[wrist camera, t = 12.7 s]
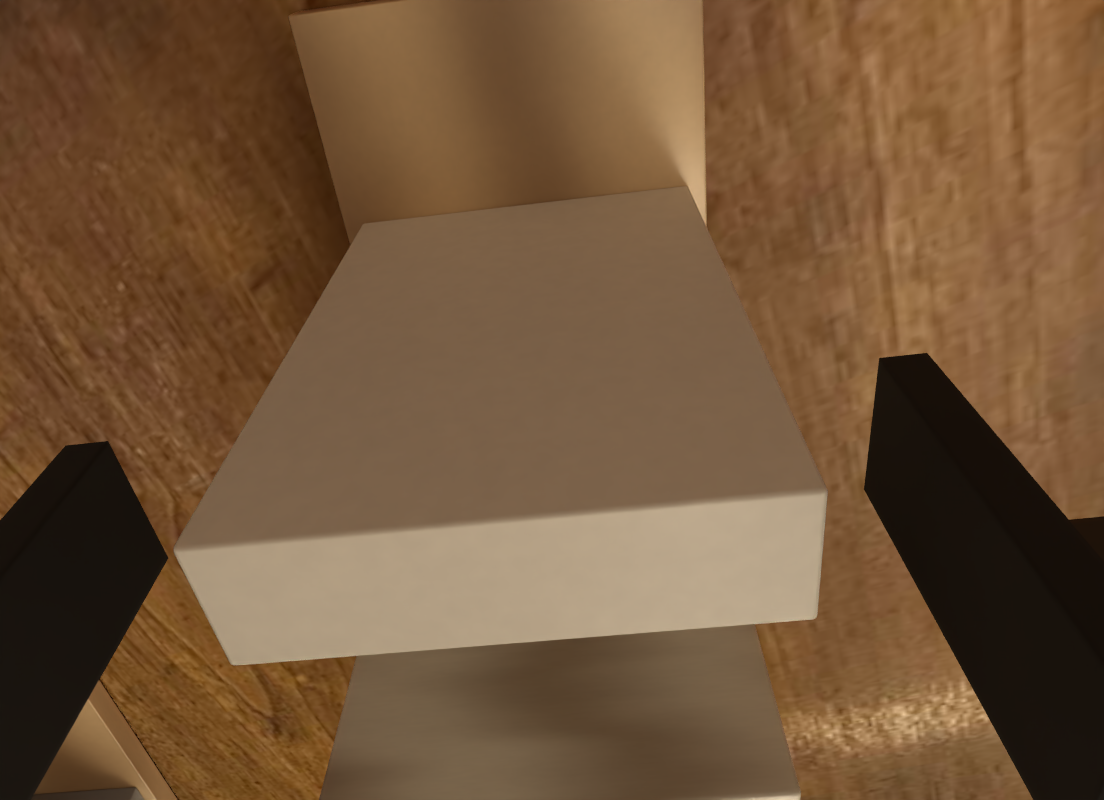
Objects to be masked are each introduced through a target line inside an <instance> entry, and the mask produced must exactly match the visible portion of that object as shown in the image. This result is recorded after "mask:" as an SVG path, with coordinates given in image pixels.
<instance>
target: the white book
mask: <svg viewBox="0 0 1104 800" xmlns="http://www.w3.org/2000/svg"><path fill="white" fill-rule="evenodd" d="M827 494H828V490H827V488H826V486H825V484H824V481H823V479H822V477H821V475H820V473H819V471H818V468H817V466H816V464H815V462H814V460H813V458H812V455H811V453H810V451H809V449H808V447H807V444H806V442H805V440H804V438H803V436H802V434H801V431H800V429H799V427H798V425H797V423H796V421H795V418H794V416H793V414H792V412H791V410H790V408H789V405H788V403H787V401H786V399H785V397H784V394H783V392H782V390H781V388H780V386H779V384H778V381H777V379H776V377H775V375H774V373H773V371H772V368H771V366H770V364H769V362H768V360H767V357H766V355H765V353H764V351H763V349H762V347H761V344H760V342H759V340H758V338H757V336H756V334H755V331H754V329H753V327H752V325H751V323H750V321H749V318H748V316H747V314H746V312H745V310H744V307H743V305H742V303H741V301H740V299H739V297H738V294H737V292H736V290H735V288H734V286H733V284H732V281H731V279H730V277H729V275H728V273H727V270H726V268H725V266H724V264H723V262H722V260H721V257H720V255H719V253H718V251H717V249H716V247H715V244H714V242H713V240H712V238H711V236H710V234H709V231H708V229H707V227H706V225H705V223H704V220H703V218H702V216H701V214H700V212H699V210H698V207H697V205H696V203H695V201H694V199H693V197H692V194H691V192H690V190H689V188H688V186H681V187H672V188H663V189H655V190H646V191H638V192H629V193H621V194H612V195H604V196H595V197H586V198H578V199H569V200H561V201H552V202H544V203H535V204H527V205H518V206H510V207H501V208H492V209H484V210H475V211H467V212H458V213H450V214H441V215H433V216H424V217H415V218H407V219H398V220H390V221H381V222H373V223H364V224H363V225H362V226H361V228H360V230H359V232H358V233H357V235H356V237H355V238H354V240H353V242H352V244H351V245H350V247H349V249H348V250H347V252H346V254H345V256H344V257H343V259H342V261H341V262H340V264H339V266H338V267H337V269H336V271H335V273H334V274H333V276H332V278H331V279H330V281H329V283H328V285H327V286H326V288H325V290H324V291H323V293H322V295H321V296H320V298H319V300H318V302H317V303H316V305H315V307H314V308H313V310H312V312H311V314H310V315H309V317H308V319H307V320H306V322H305V324H304V325H303V327H302V329H301V331H300V332H299V334H298V336H297V337H296V339H295V341H294V343H293V344H292V346H291V348H290V349H289V351H288V353H287V354H286V356H285V358H284V360H283V361H282V363H281V365H280V366H279V368H278V370H277V372H276V373H275V375H274V377H273V378H272V380H271V382H270V383H269V385H268V387H267V389H266V390H265V392H264V394H263V395H262V397H261V399H260V401H259V402H258V404H257V406H256V407H255V409H254V411H253V412H252V414H251V416H250V418H249V419H248V421H247V423H246V424H245V426H244V428H243V430H242V431H241V433H240V435H239V436H238V438H237V440H236V441H235V443H234V445H233V447H232V448H231V450H230V452H229V453H228V455H227V457H226V459H225V460H224V462H223V464H222V465H221V467H220V469H219V471H218V472H217V474H216V476H215V477H214V479H213V481H212V482H211V484H210V486H209V488H208V489H207V491H206V493H205V494H204V496H203V498H202V500H201V501H200V503H199V505H198V506H197V508H196V510H195V511H194V513H193V515H192V517H191V518H190V520H189V522H188V523H187V525H186V527H185V529H184V530H183V532H182V534H181V535H180V537H179V539H178V540H177V542H176V544H175V546H174V554H175V556H176V558H177V560H178V562H179V564H180V566H181V568H182V570H183V572H184V574H185V576H186V578H187V579H188V581H189V583H190V585H191V587H192V589H193V591H194V593H195V595H196V597H197V599H198V601H199V603H200V605H201V607H202V609H203V611H204V613H205V615H206V617H207V619H208V621H209V623H210V625H211V627H212V628H213V630H214V632H215V634H216V636H217V638H218V640H219V642H220V644H221V646H222V648H223V650H224V652H225V654H226V656H227V658H228V660H229V662H230V663H231V664H232V665H247V664H260V663H272V662H285V661H297V660H310V659H322V658H335V657H347V656H360V655H373V654H385V653H398V652H410V651H423V650H435V649H448V648H460V647H473V646H486V645H498V644H511V643H523V642H536V641H548V640H561V639H573V638H586V637H598V636H611V635H624V634H636V633H649V632H661V631H674V630H686V629H699V628H711V627H724V626H737V625H749V624H762V623H774V622H787V621H799V620H812V619H815V618H816V617H817V611H818V600H819V588H820V576H821V565H822V553H823V541H824V529H825V518H826V506H827Z"/></svg>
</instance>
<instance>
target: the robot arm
mask: <svg viewBox="0 0 1104 800" xmlns="http://www.w3.org/2000/svg"><path fill="white" fill-rule="evenodd" d="M864 490H865V492H866V494H867V495H868V497H869V499H870V501H871V503H872V505H873V506H874V508H875V510H876V512H877V514H878V516H879V517H880V519H881V521H882V523H883V525H884V527H885V528H886V530H887V532H888V534H889V536H890V538H891V539H892V541H893V543H894V545H895V547H896V549H897V550H898V552H899V554H900V556H901V558H902V560H903V561H904V563H905V565H906V567H907V569H908V571H909V572H910V574H911V576H912V578H913V580H914V582H915V583H916V585H917V587H918V589H919V591H920V593H921V594H922V596H923V598H924V600H925V602H926V604H927V605H928V607H929V609H930V611H931V613H932V615H933V616H934V618H935V620H936V622H937V624H938V626H939V627H940V629H941V631H942V633H943V635H944V637H945V638H946V640H947V642H948V644H949V646H950V648H951V649H952V651H953V653H954V655H955V657H956V659H957V660H958V662H959V664H960V666H961V668H962V670H963V671H964V673H965V675H966V677H967V679H968V681H969V682H970V684H971V686H972V688H973V690H974V692H975V693H976V695H977V697H978V699H979V701H980V703H981V704H982V706H983V708H984V710H985V712H986V714H987V715H988V717H989V719H990V721H991V723H992V725H993V726H994V728H995V730H996V732H997V734H998V736H999V737H1000V739H1001V741H1002V743H1003V745H1004V747H1005V748H1006V750H1007V752H1008V754H1009V756H1010V758H1011V759H1012V761H1013V763H1014V765H1015V767H1016V769H1017V770H1018V772H1019V774H1020V776H1021V778H1022V780H1023V781H1024V783H1025V785H1026V787H1027V789H1028V791H1029V792H1030V794H1031V796H1032V798H1033V800H1104V517H1094V518H1083V519H1073V520H1068V518H1067V517H1066V516H1065V515H1064V514H1063V513H1062V511H1061V510H1060V509H1059V508H1058V507H1057V506H1056V504H1055V503H1054V502H1053V501H1052V500H1051V498H1050V497H1049V496H1048V495H1047V494H1046V493H1045V491H1044V490H1043V489H1042V488H1041V487H1040V485H1039V484H1038V483H1037V482H1036V481H1035V480H1034V478H1033V477H1032V476H1031V475H1030V474H1029V473H1028V471H1027V470H1026V469H1025V468H1024V467H1023V465H1022V464H1021V463H1020V462H1019V461H1018V460H1017V458H1016V457H1015V456H1014V455H1013V454H1012V453H1011V451H1010V450H1009V449H1008V448H1007V447H1006V445H1005V444H1004V443H1003V442H1002V441H1001V440H1000V438H999V437H998V436H997V435H996V434H995V432H994V431H993V430H992V429H991V428H990V427H989V425H988V424H987V423H986V422H985V421H984V420H983V418H982V417H981V416H980V415H979V414H978V412H977V411H976V410H975V409H974V408H973V407H972V405H971V404H970V403H969V402H968V401H967V399H966V398H965V397H964V396H963V395H962V394H961V392H960V391H959V390H958V389H957V388H956V387H955V385H954V384H953V383H952V382H951V381H950V379H949V378H948V377H947V376H946V375H945V374H944V372H943V371H942V370H941V369H940V368H939V367H938V365H937V364H936V363H935V362H934V361H933V359H932V358H931V357H930V356H929V355H928V354H927V353H923V354H913V355H904V356H895V357H886V358H879V366H878V374H877V383H876V391H875V400H874V409H873V417H872V426H871V434H870V443H869V452H868V460H867V469H866V477H865V486H864ZM167 559H168V556H167V555H166V553H165V551H164V549H163V547H162V545H161V543H160V541H159V539H158V537H157V535H156V533H155V531H154V529H153V527H152V525H151V524H150V522H149V520H148V518H147V516H146V514H145V512H144V510H143V508H142V506H141V504H140V502H139V500H138V498H137V496H136V494H135V493H134V491H133V489H132V487H131V485H130V483H129V481H128V479H127V477H126V475H125V473H124V471H123V469H122V467H121V465H120V463H119V462H118V460H117V458H116V456H115V454H114V452H113V450H112V448H111V446H110V444H109V442H108V441H106V442H96V443H87V444H78V445H68V446H65V447H64V448H63V449H62V450H61V452H60V453H59V454H58V455H57V456H56V457H55V458H54V460H53V461H52V462H51V463H50V464H49V465H48V466H47V468H46V469H45V470H44V471H43V472H42V473H41V474H40V476H39V477H38V478H37V479H36V480H35V481H34V482H33V484H32V485H31V486H30V487H29V488H28V489H27V491H26V492H25V493H24V494H23V495H22V496H21V497H20V499H19V500H18V501H17V502H16V503H15V504H14V505H13V507H12V508H11V509H10V510H9V511H8V512H7V513H6V515H5V516H4V517H3V518H2V519H1V520H0V800H31V799H32V797H33V795H34V793H35V791H36V790H37V788H38V786H39V784H40V783H41V781H42V779H43V777H44V776H45V774H46V772H47V770H48V769H49V767H50V765H51V763H52V762H53V760H54V758H55V756H56V755H57V753H58V751H59V749H60V748H61V746H62V744H63V742H64V741H65V739H66V737H67V735H68V733H69V732H70V730H71V728H72V726H73V725H74V723H75V721H76V719H77V718H78V716H79V714H80V712H81V711H82V709H83V707H84V705H85V704H86V702H87V700H88V698H89V697H90V695H91V693H92V691H93V690H94V688H95V686H96V684H97V682H98V681H99V679H100V677H101V675H102V674H103V672H104V670H105V668H106V667H107V665H108V663H109V661H110V660H111V658H112V656H113V654H114V653H115V651H116V649H117V647H118V646H119V644H120V642H121V640H122V639H123V637H124V635H125V633H126V631H127V630H128V628H129V626H130V624H131V623H132V621H133V619H134V617H135V616H136V614H137V612H138V610H139V609H140V607H141V605H142V603H143V602H144V600H145V598H146V596H147V595H148V593H149V591H150V589H151V588H152V586H153V584H154V582H155V581H156V579H157V577H158V575H159V573H160V572H161V570H162V568H163V566H164V565H165V563H166V561H167Z"/></svg>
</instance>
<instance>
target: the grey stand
mask: <svg viewBox="0 0 1104 800" xmlns="http://www.w3.org/2000/svg"><path fill="white" fill-rule="evenodd" d="M31 800H178V799H177V798H176V796H175V795H174V793H173V792H172V790H171V789H170V787H169V786H168V784H167V783H166V781H165V780H164V778H163V777H162V775H161V774H160V772H159V770H158V769H157V767H156V766H155V764H154V763H153V761H152V760H151V758H150V757H149V755H148V754H147V752H146V751H145V749H144V748H143V746H142V745H141V743H140V741H139V740H138V738H137V737H136V735H135V734H134V732H133V731H132V729H131V728H130V726H129V725H128V723H127V722H126V720H125V719H124V717H123V715H122V714H121V712H120V711H119V709H118V708H117V706H116V705H115V703H114V702H113V700H112V699H111V697H110V696H109V694H108V693H107V691H106V690H105V688H104V686H103V685H102V683H101V682H100V680H99V681H98V682H97V684H96V686H95V688H94V690H93V691H92V693H91V695H90V697H89V698H88V700H87V702H86V704H85V705H84V707H83V709H82V711H81V712H80V714H79V716H78V718H77V719H76V721H75V723H74V725H73V726H72V728H71V730H70V732H69V733H68V735H67V737H66V739H65V741H64V742H63V744H62V746H61V748H60V749H59V751H58V753H57V755H56V756H55V758H54V760H53V762H52V763H51V765H50V767H49V769H48V770H47V772H46V774H45V776H44V777H43V779H42V781H41V783H40V784H39V786H38V788H37V790H36V791H35V793H34V795H33V797H32V799H31Z"/></svg>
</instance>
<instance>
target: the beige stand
mask: <svg viewBox="0 0 1104 800" xmlns="http://www.w3.org/2000/svg"><path fill="white" fill-rule="evenodd" d="M288 19H289V22H290V26H291V30H292V33H293V37H294V41H295V44H296V48H297V52H298V55H299V59H300V63H301V66H302V70H303V74H304V77H305V81H306V85H307V88H308V92H309V96H310V100H311V103H312V107H313V111H314V114H315V118H316V122H317V125H318V129H319V133H320V136H321V140H322V144H323V147H324V151H325V155H326V158H327V162H328V166H329V170H330V173H331V177H332V181H333V184H334V188H335V192H336V195H337V199H338V203H339V206H340V210H341V214H342V217H343V221H344V225H345V228H346V232H347V236H348V239H349V243H350V245H351V244H352V242H353V240H354V238H355V237H356V235H357V233H358V232H359V230H360V228H361V226H362V225H363V224H364V223H373V222H381V221H390V220H398V219H407V218H415V217H424V216H433V215H441V214H450V213H458V212H467V211H475V210H484V209H492V208H501V207H510V206H518V205H527V204H535V203H544V202H552V201H561V200H569V199H578V198H586V197H595V196H604V195H612V194H621V193H629V192H638V191H646V190H655V189H663V188H672V187H681V186H688V188H689V190H690V192H691V194H692V197H693V199H694V201H695V203H696V205H697V207H698V210H699V212H700V214H701V216H702V218H703V220H704V223H705V225H706V227H707V212H706V149H705V86H704V24H703V0H375V1H368V2H360V3H353V4H346V5H338V6H331V7H324V8H316V9H309V10H302V11H298V12H296V13H294V14H291V15H289V16H288ZM800 796H801V791H800V787H799V784H798V780H797V777H796V773H795V769H794V766H793V762H792V758H791V755H790V751H789V747H788V744H787V740H786V736H785V733H784V729H783V726H782V722H781V718H780V715H779V711H778V707H777V704H776V700H775V696H774V693H773V689H772V686H771V682H770V678H769V675H768V671H767V667H766V664H765V660H764V656H763V653H762V649H761V646H760V642H759V638H758V635H757V631H756V627H755V624H749V625H737V626H724V627H711V628H699V629H686V630H674V631H661V632H649V633H636V634H624V635H611V636H598V637H586V638H573V639H561V640H548V641H536V642H523V643H511V644H498V645H486V646H473V647H460V648H448V649H435V650H423V651H410V652H398V653H385V654H373V655H360V656H357V657H356V660H355V664H354V668H353V672H352V676H351V680H350V683H349V687H348V691H347V695H346V699H345V703H344V706H343V710H342V714H341V718H340V722H339V726H338V729H337V733H336V737H335V741H334V745H333V749H332V752H331V756H330V760H329V764H328V768H327V772H326V775H325V779H324V783H323V787H322V791H321V795H320V798H319V800H800Z"/></svg>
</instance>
